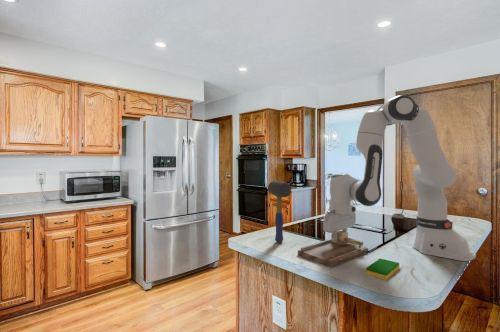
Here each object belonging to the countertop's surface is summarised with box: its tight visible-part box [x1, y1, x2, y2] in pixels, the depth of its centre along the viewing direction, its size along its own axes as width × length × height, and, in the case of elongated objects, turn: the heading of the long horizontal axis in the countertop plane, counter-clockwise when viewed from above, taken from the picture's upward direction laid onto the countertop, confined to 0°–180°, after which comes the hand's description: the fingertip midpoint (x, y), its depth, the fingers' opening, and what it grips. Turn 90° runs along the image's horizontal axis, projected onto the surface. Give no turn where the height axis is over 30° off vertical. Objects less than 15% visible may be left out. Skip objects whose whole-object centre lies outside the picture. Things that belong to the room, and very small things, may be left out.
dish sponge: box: [365, 258, 400, 280], centre depth 102 cm, size 7×14×2 cm, turn 136°
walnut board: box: [297, 238, 369, 268], centre depth 119 cm, size 18×26×3 cm
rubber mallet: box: [267, 180, 292, 244], centre depth 135 cm, size 12×8×30 cm, turn 22°
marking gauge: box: [330, 230, 364, 248], centre depth 124 cm, size 14×4×5 cm, turn 38°
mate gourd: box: [390, 202, 410, 231], centre depth 162 cm, size 8×8×15 cm
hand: (339, 238), depth 127 cm, fingers closed on marking gauge, 4 cm apart
